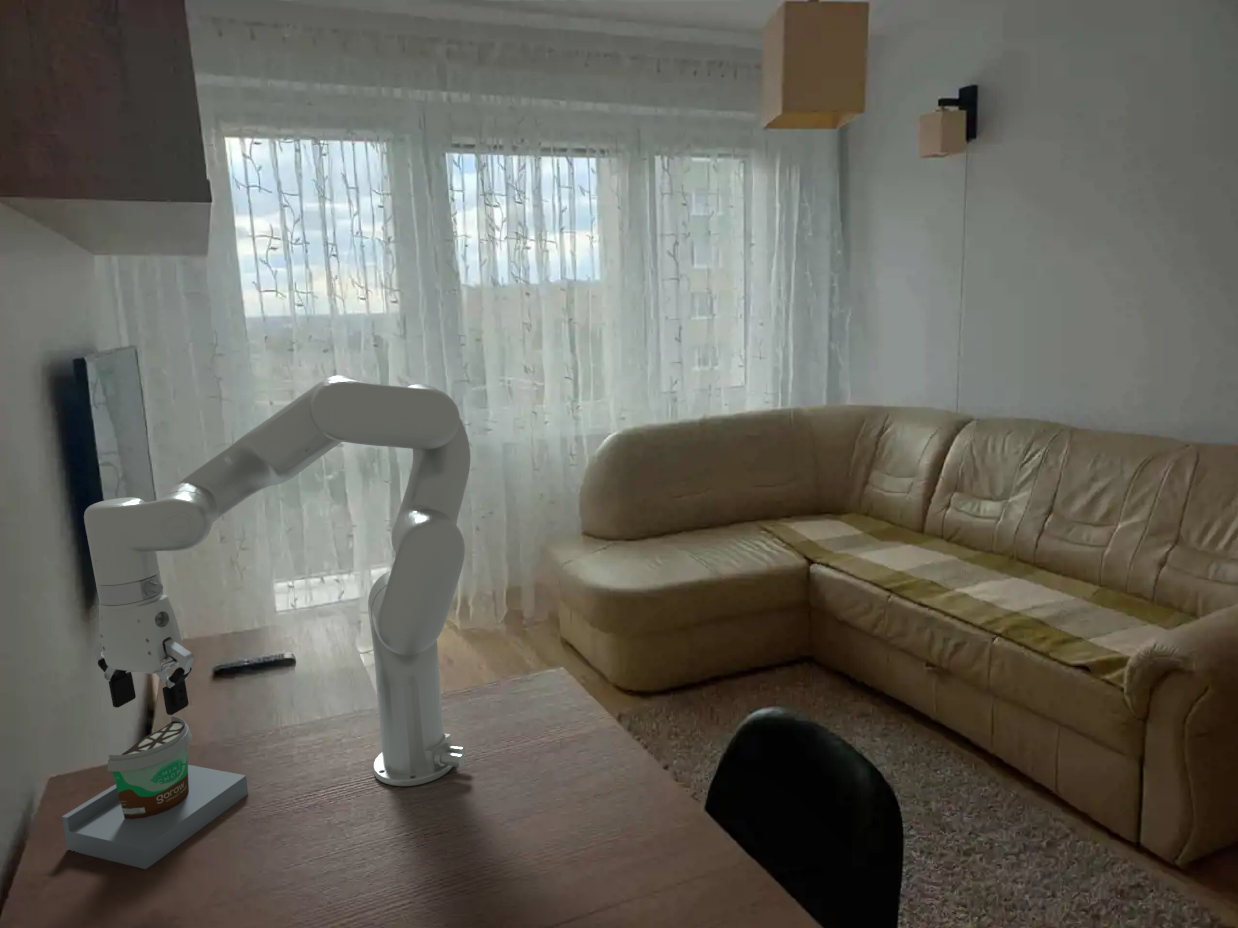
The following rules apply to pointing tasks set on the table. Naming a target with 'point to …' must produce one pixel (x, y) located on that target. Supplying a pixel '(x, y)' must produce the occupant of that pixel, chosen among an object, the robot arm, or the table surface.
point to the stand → (150, 820)
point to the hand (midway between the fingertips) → (151, 706)
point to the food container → (153, 771)
